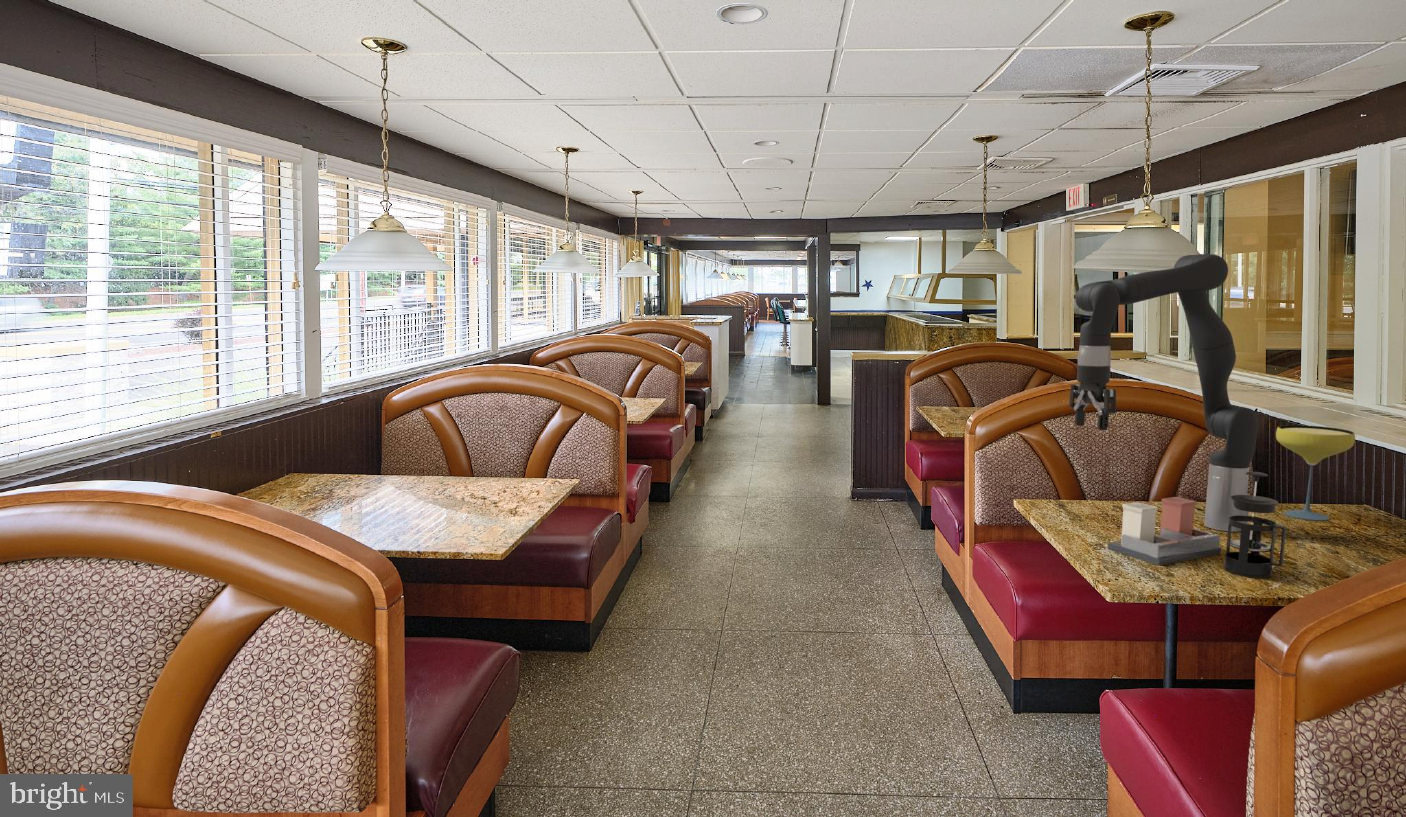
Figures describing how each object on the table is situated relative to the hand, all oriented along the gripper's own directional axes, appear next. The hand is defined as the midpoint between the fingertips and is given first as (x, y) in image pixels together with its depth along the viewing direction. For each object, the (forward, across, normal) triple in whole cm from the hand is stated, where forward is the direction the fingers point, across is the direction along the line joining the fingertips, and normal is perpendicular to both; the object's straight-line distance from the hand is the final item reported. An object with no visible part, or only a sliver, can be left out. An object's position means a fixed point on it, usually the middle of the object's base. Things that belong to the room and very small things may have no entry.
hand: (1090, 427), depth 214 cm
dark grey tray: (+29, -12, -12) cm, 34 cm away
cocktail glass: (+30, +7, -78) cm, 84 cm away
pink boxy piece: (+28, -10, -19) cm, 35 cm away
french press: (+30, -31, -19) cm, 47 cm away
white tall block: (+28, -13, -5) cm, 31 cm away
